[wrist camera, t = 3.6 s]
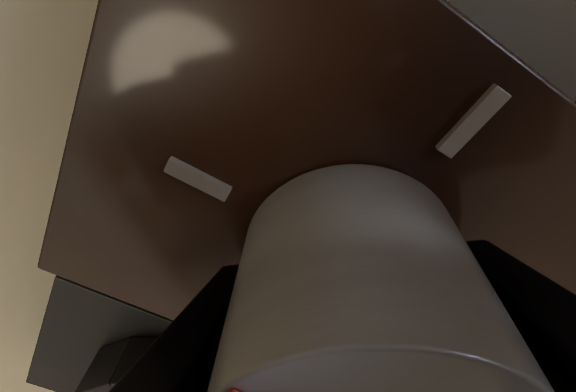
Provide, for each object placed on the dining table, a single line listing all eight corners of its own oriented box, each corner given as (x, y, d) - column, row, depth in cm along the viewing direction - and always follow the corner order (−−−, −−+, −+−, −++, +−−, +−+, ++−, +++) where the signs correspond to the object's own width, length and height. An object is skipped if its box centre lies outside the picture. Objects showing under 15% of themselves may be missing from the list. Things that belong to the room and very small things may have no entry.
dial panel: (626, 164, 10) (748, 235, 7) (395, 339, 14) (414, 420, 12) (211, -152, 7) (144, -242, 4) (96, 205, 11) (31, 272, 9)
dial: (500, 235, 7) (681, 478, 4) (359, 340, 10) (388, 552, 6) (326, 116, 6) (347, 308, 3) (211, 268, 8) (138, 482, 5)
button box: (330, 346, 15) (334, 435, 12) (249, 415, 19) (238, 495, 16) (84, 242, 12) (13, 323, 9) (50, 347, 16) (-7, 427, 13)
